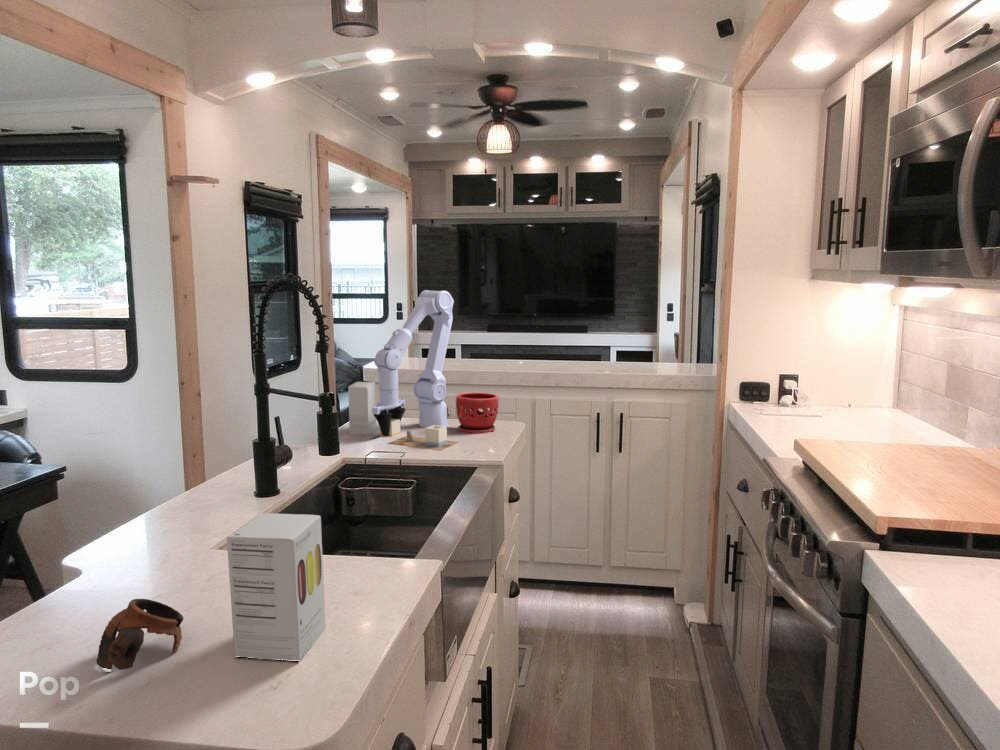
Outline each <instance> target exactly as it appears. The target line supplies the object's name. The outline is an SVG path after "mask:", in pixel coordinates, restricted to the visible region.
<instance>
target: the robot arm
mask: <svg viewBox="0 0 1000 750" xmlns="http://www.w3.org/2000/svg"><path fill="white" fill-rule="evenodd" d="M454 304H455V301H454V298H453V296H452V294H451V293H450V292H449V291H447V290H429V289H428V290H427V289H425V290H423V291H421V293H419V296H418V297H416V299H415V306H414V307H413V309H412V311H411V313H410V314H409V316H408V317H407V319H406V321H405V322H404V324H403V326H402V327H401V328H397V329H396V330H394V331H393V332H392V333H391V335H392V336H390V338H389V340H388V342H386V343H385V344H384V346H383V348H381V349H379V350H377V351H376V352H377V353H376V354H375V357H374V358H373V362H374V363H373V364H374V365H375V366H376V367H377V372H378V389H379V390H378V392H379V395H378V396H379V401H378V402H376V406H375V407H372V414H374V416H375V418H376V422H377V423H378V426H379V430H380V429H381V433H382V435H384V436H385V435H389V430H390V420H391V419H400V423H401V421H402V418H403V416H404V414H405V412H406V408H405V406H406V404H407V403H406V401H407V400H406V399H404V398H403V399H402V398H400V399H399V370H398V369H399V367H400V366H401V365H402V362H403V356H404V353H405V351H406V350H407V348H408V347H410V344H411V343H412V341H413V333H414V332H415V331H416V329H417V328H418V327H419V326H420V324H421V323H422V321H424V319H425V318H426V317H427V316H430V317H431V319H432V321H433V322H434V323H433V329H432V333H431V338H430V343H429V348H428V351H427V352H428V354H427V357H426V361H425V367H424V370H423V371H422V372H421V373H420V374H419V375H417V377H418V378H417V380H416V382H415V383H414V385H413V395H414V396H415V397H416V398H417V402H418V423H419V424H418V426H419V427H420V428H422V429H423V428H424V429H425V428H427V427H430V426H432V425H438V426H447V427H450V424H448V407H447V404H446V402H445V401H444V399H445V397H446V395H447V386H446V384H447V379H446V378H445V376H444V374H443V370H444V369H443V368H444V363H445V360H446V359H445V358H446V354H447V350H448V345H449V340H450V335H451V331H452V330H451V329H452V325H453V319H454V317H453V307H454Z"/></svg>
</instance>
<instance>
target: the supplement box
mask: <svg viewBox="0 0 1000 750" xmlns="http://www.w3.org/2000/svg"><path fill="white" fill-rule="evenodd" d="M322 541H323V539H322V517H321V515H318V514H303V513H302V514H301V513H299V514H298V513H297V514H294V513H275V512H274V513H271V512H270V513H268V512H265V513H264V512H260V513H258V514H257V515H256V516H254V517H253V518H252V519H251V520H249V521H248V522H247V523H245V524H243V525H242V526H241V527H240V528H238V529H236V531H234V532H232V533H231V534H229V535H228V536H227V537H226V544H227V545H226V547H227V561H228V562H227V563H228V576H229V588H230V606H231V618H232V619H231V620H232V621H231V622H232V635H233V650H234V657H235V656H240V657H251V658H252V657H253V658H259V659H258V660H262V658H263V659H280V660H281V659H283V660H284V659H285V660H286V659H287V660H300V659H301V658H302V656H303V655H304V654H305V652H306V651H307V650H308V649H309V648H310V649H311V647H312V646H313V645H314V643H315V642H316V641H317V639H318V638H319V637H320V636H321V634H322V633H321V632H323V631H324V630H325V629H326V627H325V626H326V607H325V603H326V602H325V585H324V579H325V578H324V563H323V543H322ZM324 628H325V629H324ZM323 629H324V630H323ZM318 636H319V637H318ZM315 640H316V641H315ZM314 641H315V642H314ZM312 644H313V645H312ZM311 645H312V646H311ZM310 646H311V647H310ZM310 649H309V650H310ZM309 650H308V651H309ZM308 651H307V652H308ZM305 655H306V654H305ZM305 655H304V656H305ZM260 658H261V659H260ZM302 659H303V658H302ZM302 659H301V660H302Z"/></svg>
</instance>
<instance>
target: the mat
mask: <svg viewBox="0 0 1000 750" xmlns="http://www.w3.org/2000/svg"><path fill="white" fill-rule="evenodd" d="M378 438H381V437H380V434H379V435H376V436H374V437H371V438H369V440H375V439H378Z"/></svg>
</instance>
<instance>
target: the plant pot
mask: <svg viewBox="0 0 1000 750" xmlns="http://www.w3.org/2000/svg"><path fill="white" fill-rule="evenodd" d="M455 404H456V405H455V406H456V409H455V410H456V415H457V419H458V422H459V424H460V425H458V427H457V429H458V431H460V433H465V434H487V433H494V432H495V430H496V426H495V425H494V424H495V422H496V419H497V417H498V411H499V395H496V394H494V393H487V392H466V393H458V394H457V395H456V399H455ZM480 410H482V411H480Z"/></svg>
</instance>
